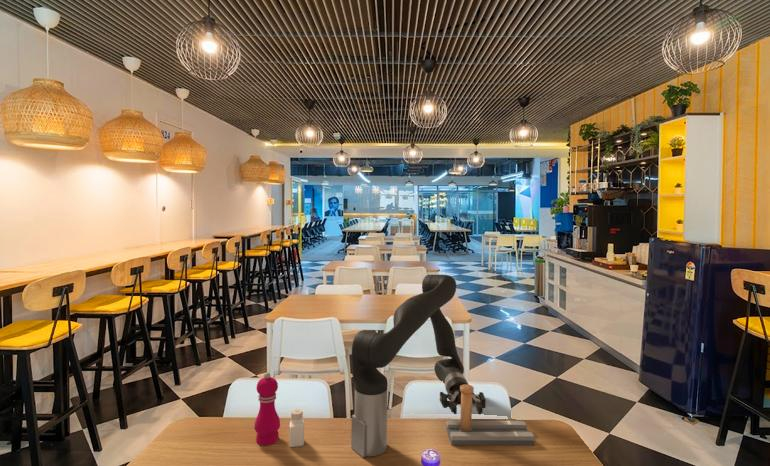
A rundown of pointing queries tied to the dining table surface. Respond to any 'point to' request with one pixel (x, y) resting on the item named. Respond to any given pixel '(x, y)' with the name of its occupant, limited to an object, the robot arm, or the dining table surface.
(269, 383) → the pepper mill
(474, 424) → the grey stand base
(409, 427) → the dining table surface
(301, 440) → the pepper shaker
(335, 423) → the dining table surface
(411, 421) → the dining table surface
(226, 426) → the dining table surface
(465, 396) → the wooden peg
